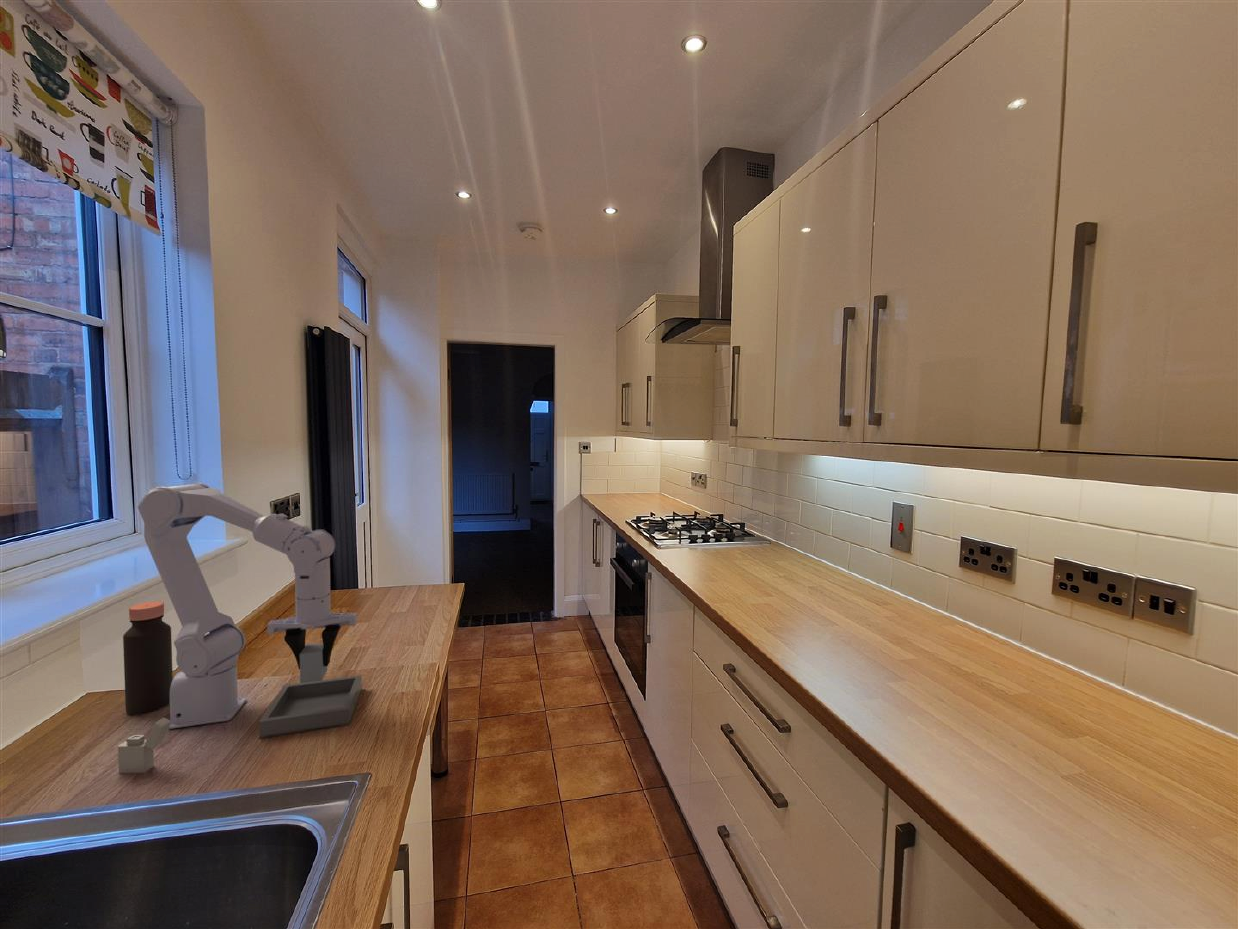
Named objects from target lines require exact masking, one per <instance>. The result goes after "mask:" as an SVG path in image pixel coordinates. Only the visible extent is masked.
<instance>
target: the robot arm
mask: <svg viewBox="0 0 1238 929" xmlns="http://www.w3.org/2000/svg"><path fill="white" fill-rule="evenodd" d="M137 509H138V511H139V514H140V516H141V518H142V520H143V524H144V525H143V529H144V530H143V532H144V533H143V534H144V535H143V536H144V541H145V544H146V546H147V548H148V550H149V553H150V556H151V557H152V559H153V562H154V564H155V567H156V568H157V569H156V570H157V571H158V573H159V575H160V579H161V580H162V583H163V585H164V588H165V590H166V592H167V594H168V597H169V599H170V601H171V604H172V605H173V609H174V610H175V612H176V615H177V617H178V620H179V622H180V624H181V627H180V630H179V632H178V633H177V636H176V637H175V639H174V641H173V645H174V646H175V649H176V656H175V658H176V659H175V662H176V665H177V667H178V669H179V670H180V671H179V672H177V673H176V674H175V675H174V676H173V680H172V683H171V687H170V704H169V716H170V717H169V718H170V719H169V720H170V721H172V722H171V724H170V726H169V728H168V730H170V729H177V728H184V727H191V726H198V725H206V724H212V723H213V724H214V723H220V722H227V721H230V720H232V719H233V718H234V717H235V715H236V713H238V712H239V711H240V709H241V707H242V706H244V703H245V702H246V701H247V697H240V698H238V696H239V694H238V660H239V653H240V652H242V651H243V649H244V648H245V645H246V636H245V633H244V631H243V630H242V629H241V628H240V627H238V626H237V625H236V624H235V622H234V619H233V618H232V616H229V615H227V614H224V613H223V612H219V610H218V608H217V605H216V603H215V601H214V598H213V596H212V593H211V590H210V589H209V587H208V584H207V581H206V580H205V578H204V577H205V576H204V575H203V573H202V571H201V568H200V566H199V563H198V561H197V559H196V556H195V554H194V551H193V549H192V547H191V545H190V542H189V540H188V536H189V534H190V532H191V531H192V529H193V528H194V526H195V525H197V524H198V523H199V522H200V521H201V520H203V519H204V518H205V517H206V516H207V517H209V516H210V517H213V518H215V519H218V520H221V521H223V522H226V523H228V524H230V525H233V526H236V527H239V528H241V529H244V530H246V531H248V532H249V531H250V532H252V536H253V537H252V538H254V541H256V542H257V543H260V544H261V545H264V546H266V547H269V548H271V549H273V550H275V551H278V552H279V553H282V554H284V555H286V556H287V558H288V560H289V562H290V563H291V564H292V565H293V573H294V589H295V590H294V592H295V593H294V594H295V598H294V599H295V616H292V617H287V618H282V619H274V620H270V621H269V622H268V623H267V624H266V625H267V635H273V634H276V633H282V632H285V635H284V637H283V639H284V642H285V643H286V644H287V645H288V647H289V648H290V650H291V652H292V653H293V655H294V658H295V660H296V664H297V668H298V670H300V653H301V652H302V650H303V649H304V647H305V646H306V636H307V634H306V633H307V630H314V629H323V628H324V629H323V631H322V632H321V640H322V643H323V649H324V654H323V664H324V666H327V667H328V666H329V664H330V663H331V656H332V652H333V647H334V644H335V642H336V639H337V636H338V634H339V632H340V629H341V627H342V626H349V627H354V626H356V625H357V622H358V616H357V615H358V613H357V612H349V613H348V612H345V613H344V612H339V613H338V612H331V611H332V610H331V606H332V604H331V601H332V600H331V561H330V560H331V556H332V555H333V553H334V552H335V550H336V540H335V539H334V537H333V535H332V534H330V533H329V532H327V531H326V530H325V529H315V530H312V529H311V527H310V526H309V525H302V524H299V523H295V522H294V521H292V520H289V519H287V518H288V515H286V514H285V513H282V512H281V513H279V514H278V513H277V514H276V513H270V514H267V515H263V514H261V513H260V512H257V511H255V510H254V509H252V508H250V507H248V506H246V505H244V504H242V503H240V502H238V501H236V500H235V499H232V498H231V497H229V496H226V495H225V494H223V493H222V492H221V491H220V490H219V489H218V488H215V487H211V486H209V485H208V484H205V483H202V482H201V483H200V482H194V483H191V484H186V485H175V486H166V487H165V486H158V487H153V488H152V489H149V490H148V491H147V492H146V493H145V495H144V496H143V498H142V499H141V501H140V502H139V504H138V505H137Z"/></svg>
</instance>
